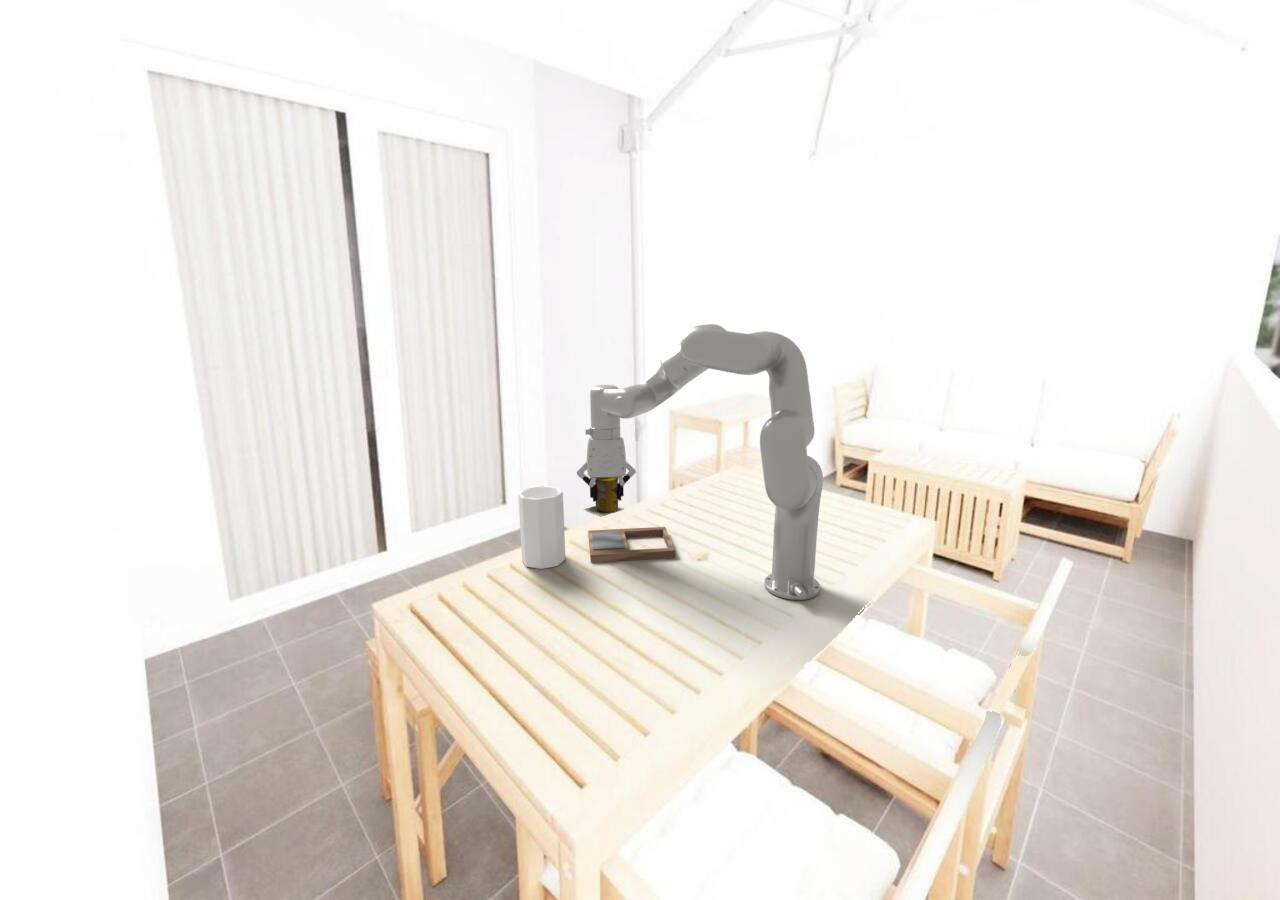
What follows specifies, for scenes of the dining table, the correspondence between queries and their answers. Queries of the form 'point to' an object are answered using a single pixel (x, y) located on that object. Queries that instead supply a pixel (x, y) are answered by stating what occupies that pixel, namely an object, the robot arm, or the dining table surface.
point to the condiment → (605, 497)
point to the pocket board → (615, 545)
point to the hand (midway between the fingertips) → (606, 498)
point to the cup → (542, 526)
